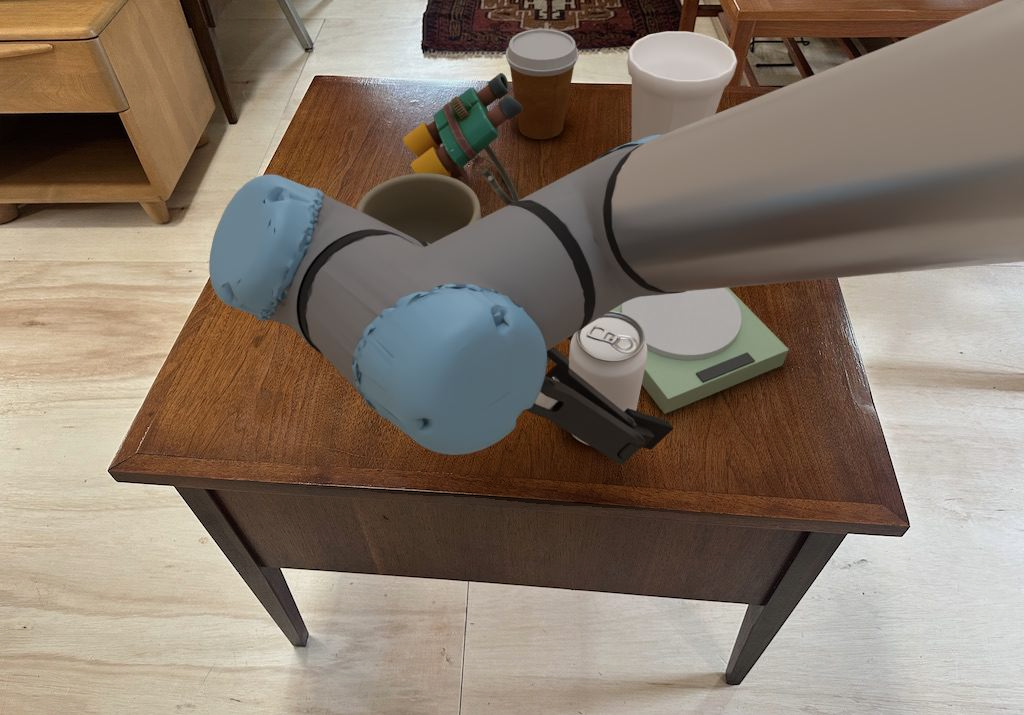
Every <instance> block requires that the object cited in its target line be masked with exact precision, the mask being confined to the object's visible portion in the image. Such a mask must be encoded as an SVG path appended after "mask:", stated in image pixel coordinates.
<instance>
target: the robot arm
mask: <svg viewBox="0 0 1024 715" xmlns="http://www.w3.org/2000/svg"><path fill="white" fill-rule="evenodd" d="M356 209H357V208H354V207H351V206H349V205H348V204H345V203H343V202H341V201H339V200H336V199H334V198H333V197H330V196H328V195H326V194H324V192H323V191H322V190H321V189H318V188H317V187H309V186H306V185H304V184H301V183H299V182H297V181H295V180H291V179H290V178H289V179H288V178H286V177H284V176H281V175H278V174H262V175H260V176H259V175H258V176H256V177H254V178H252V179H250V180H249V181H247V182H246V183H245V184H243V185H242V187H240V188H239V189H238V190H237V192H235V193H234V195H233V196H232V198H231V199H230V201H229V202H228V204H227V205H226V207H225V209H224V211H223V212H222V214H221V217H220V220H219V222H218V224H217V225H216V226H217V227H216V228H215V231H214V235H213V239H212V242H211V247H210V252H209V260H208V261H209V262H208V271H209V272H208V273H209V279H210V283H211V287H212V289H213V291H214V293H215V295H216V296H217V298H218V300H220V301H221V302H222V303H224V304H225V305H226V306H228V307H231V308H234V309H236V310H240V311H242V312H244V313H247V314H249V315H252V316H255V317H256V320H258V321H261V322H266V321H269V322H270V321H271V322H274V323H279V324H282V325H284V326H287V327H289V328H291V329H292V330H294V332H296V333H297V334H298V335H299V336H300V337H301V339H303V340H304V341H305V342H306V343H307V344H308V345H309V347H311V348H312V349H314V350H315V351H316V352H318V353H319V354H320V355H321V356H323V357H324V358H325V359H326V360H327V362H328V363H330V364H331V365H332V366H333V367H334V369H336V371H337V372H338V373H339V374H340V375H341V376H342V377H343V378H344V379H345V380H346V381H347V382H348V384H350V385H351V386H352V387H353V388H354V389H355V390H356V391H357V393H359V395H360V397H361V398H362V399H363V401H364V402H365V404H366V405H367V406H368V407H369V409H370V408H371V409H373V410H374V411H375V412H376V413H377V414H378V416H380V417H382V418H383V419H385V420H387V421H389V422H390V423H392V424H393V425H394V426H396V427H397V428H398V429H399V430H400V431H402V432H403V433H404V434H405V435H407V436H408V437H409V438H411V439H412V440H413V441H414V442H415V443H417V444H418V445H419V446H422V448H425V449H427V450H429V451H431V452H434V453H437V454H441V455H449V456H459V455H461V456H462V455H467V454H472V453H476V452H479V451H482V450H485V449H487V448H489V447H492V446H493V445H495V444H497V443H498V442H500V441H501V440H503V439H504V438H505V437H506V436H508V435H509V434H510V433H511V432H513V431H514V430H515V429H516V427H517V419H518V418H519V417H520V416H521V414H522V412H523V411H524V410H526V411H527V412H529V413H531V414H533V415H535V416H538V417H541V418H544V419H546V420H549V421H550V422H552V423H554V424H555V425H557V427H559V428H561V429H563V430H564V431H566V432H568V433H569V434H571V435H572V436H573V435H574V436H575V437H577V438H579V439H580V440H582V441H583V442H585V443H587V444H588V445H587V444H586V445H587V446H590V447H591V448H593V449H594V450H596V451H597V452H598V453H599V452H600V453H601V454H602V455H604V456H605V457H607V458H608V459H610V460H612V461H614V462H615V463H617V464H619V465H624V464H625V462H627V461H628V460H629V459H630V458H631V457H632V456H633V455H634V454H636V452H638V450H641V449H647V450H653V449H654V448H655V447H656V446H657V445H658V444H659V443H660V442H661V441H662V440H663V439H664V438H666V437H667V436H668V435H669V434H670V433H671V432H672V431H673V430H674V429H675V428H674V426H673V425H672V424H671V422H670V421H669V420H665V419H662V418H659V417H656V416H653V415H650V414H648V413H644V412H641V411H638V410H636V411H635V410H632V409H629V408H627V409H626V410H625V411H622V410H621V409H620V408H619V407H617V406H616V405H615V404H614V403H612V402H611V401H610V400H609V399H607V398H606V397H605V396H604V395H602V394H601V393H600V392H599V391H598V390H596V389H595V388H594V387H593V386H591V385H590V384H589V383H588V382H586V381H585V380H584V379H583V378H581V377H580V376H579V375H578V374H576V373H575V372H574V371H573V370H571V369H570V368H569V357H567V356H566V355H565V354H563V352H561V351H559V350H558V349H557V348H556V347H555V346H558V345H559V344H561V343H562V342H564V341H566V340H569V341H571V340H572V337H573V335H574V334H575V333H576V332H577V331H579V330H580V329H583V328H584V327H585V326H587V325H588V324H590V323H592V322H593V321H595V320H597V319H598V318H600V317H601V316H603V315H605V314H606V313H608V312H610V311H611V310H613V309H614V308H616V307H618V306H619V305H621V304H623V303H624V302H626V301H629V300H631V299H634V298H637V297H642V296H654V295H665V294H675V293H683V292H686V291H695V290H706V289H718V288H729V289H730V288H740V287H750V286H752V287H753V286H762V285H772V284H785V283H795V282H805V281H806V282H807V281H808V282H809V281H818V280H819V281H820V280H831V279H842V278H852V277H853V278H855V277H864V276H875V275H876V276H877V275H886V274H887V275H889V274H897V273H899V274H900V273H909V272H921V271H922V272H923V271H932V270H943V269H954V268H955V269H956V268H966V267H977V266H987V265H988V266H989V265H1001V264H1012V263H1023V262H1024V0H1000V1H998V2H996V3H993V4H990V5H988V6H985V7H983V8H980V9H978V10H975V11H973V12H970V13H968V14H965V15H962V16H960V17H957V18H955V19H952V20H949V21H946V22H944V23H942V24H939V25H937V26H935V27H932V28H929V29H927V30H924V31H922V32H919V33H917V34H914V35H912V36H909V37H907V38H904V39H901V40H898V41H897V42H894V43H892V44H888V45H886V46H883V47H881V48H879V49H877V50H874V51H871V52H869V53H866V54H864V55H861V56H859V57H855V58H854V59H851V60H849V61H846V62H843V63H841V64H838V65H836V66H834V67H831V68H829V69H826V70H823V71H820V72H817V73H815V74H813V75H811V76H807V77H806V78H803V79H801V80H798V81H795V82H793V83H791V84H787V85H785V86H782V87H781V88H778V89H774V90H773V91H769V92H767V93H764V94H762V95H760V96H757V97H755V98H753V99H750V100H747V101H744V102H742V103H740V104H737V105H734V106H731V107H729V108H728V109H725V110H722V111H720V112H716V114H714V115H712V116H709V117H707V118H704V119H702V120H699V121H697V122H694V123H692V124H689V125H687V126H684V127H681V128H679V129H676V130H674V131H671V132H669V133H666V134H664V135H653V136H648V137H645V138H643V139H640V140H638V141H634V142H631V141H630V142H627V143H625V144H622V145H620V146H617V147H615V148H613V149H611V150H609V151H607V152H605V153H603V154H601V155H600V156H597V158H596V159H595V160H594V161H592V162H590V163H588V164H586V165H584V166H581V167H580V168H578V169H576V170H574V171H572V172H570V173H568V174H566V175H564V176H562V177H560V178H558V179H557V180H555V181H553V182H551V183H549V184H547V185H545V186H544V187H542V188H539V189H538V190H536V191H534V192H532V193H530V194H528V195H526V196H525V197H522V198H521V199H520V200H519V201H515V202H514V201H513V202H512V203H511V204H509V205H506V206H503V207H502V208H500V209H497V210H495V211H494V212H492V213H489V214H488V215H486V216H483V217H481V219H480V220H478V221H476V222H474V223H472V224H470V225H468V226H466V227H464V228H462V229H460V230H458V231H456V232H454V233H452V234H450V235H448V236H446V237H444V238H442V239H440V240H438V241H436V242H434V243H432V244H429V243H427V242H425V241H421V240H419V239H416V238H414V237H410V236H408V235H406V234H404V233H402V232H400V231H398V230H396V229H394V228H392V227H390V226H388V225H386V224H384V223H382V222H380V221H379V220H377V219H375V218H373V217H371V216H369V215H366V214H364V213H362V212H360V211H358V210H356ZM550 361H552V362H553V363H554V364H555V365H554V366H553V367H552V368H550V370H549V371H548V372H547V366H548V363H549V362H550ZM574 436H573V437H574ZM575 437H574V438H575Z"/></svg>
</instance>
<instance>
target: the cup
mask: <svg viewBox="0 0 1024 715" xmlns="http://www.w3.org/2000/svg"><path fill="white" fill-rule="evenodd" d="M626 62H627V63H626V65H627V72H628V75H629V76H630V78H631V130H630V131H631V141H630V142H634V141H638V140H640V139H643V138H645V137H648V136H653V135H664V134H666V133H669V132H671V131H674V130H676V129H679V128H681V127H684V126H687V125H689V124H692V123H694V122H697V121H699V120H702V119H704V118H707V117H709V116H712V115H714V114H717V111H718V108H719V106H720V102H721V99H722V96H723V93H724V90H725V88H726V87H727V86H728V85H729V84H730V82H731V80H732V79H733V77H734V76H735V72H736V68H737V65H738V59H737V56H736V53H735V51H734V50H733V49H732V48H731V47H730V46H729V45H727V44H726V42H724V41H722V40H719V39H717V38H714V37H712V36H710V35H708V34H702V33H698V32H692V31H683V30H682V31H680V30H679V31H675V30H674V31H671V30H670V31H668V30H667V31H661V32H656V33H651V34H647V35H646V36H643V37H641V38H639V39H638V40H635V41H634V43H633V44H632V45H631V46H630V48H629V49H627V60H626Z"/></svg>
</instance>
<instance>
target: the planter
mask: <svg viewBox="0 0 1024 715" xmlns="http://www.w3.org/2000/svg"><path fill="white" fill-rule="evenodd" d="M470 187H471V186H470ZM470 187H468V186H467V185H466V184H464V183H463V182H461V181H459V180H457V179H454V178H451V177H448V176H444V175H439V174H430V173H418V174H416V173H410V174H409V173H408V174H403V175H400V176H395V177H392V178H390V179H387V180H385V181H383V182H381V183H378V184H377V185H375V186H374V187H372V188H371V189H370V190H368V191H367V192H366V193H365V194H364V195H363V197H362V198H361V199H360V201H359V202H358V204H357V205H356V206H357V207H356V208H355V209H356V210H358V211H360V212H362V213H364V214H366V215H369V216H371V217H373V218H375V219H377V220H379V221H380V222H382V223H384V224H386V225H388V226H390V227H392V228H394V229H396V230H398V231H400V232H402V233H404V234H406V235H408V236H410V237H414V238H416V239H419V240H421V241H425V242H427V243H429V244H432V243H434V242H436V241H438V240H440V239H442V238H444V237H446V236H448V235H450V234H452V233H454V232H456V231H458V230H460V229H462V228H464V227H466V226H468V225H470V224H472V223H474V222H476V221H478V220H480V219H482V217H481V204H480V201H479V197H478V196H477V194H476V192H475V191H474V190H473V189H472V187H471V188H470Z"/></svg>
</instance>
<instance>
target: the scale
mask: <svg viewBox="0 0 1024 715" xmlns="http://www.w3.org/2000/svg"><path fill="white" fill-rule="evenodd" d="M611 311H616V312H620V313H623V314H626V315H628V316H630V317H632V318H633V319H635V320H636V321H637V322H638V323H639V324H640V326H641V327H642V329H643V331H644V334H645V342H646V345H647V359H646V364H645V370H644V375H643V380H642V385H641V386H642V387H643V388H644V389H645V391H646V393H648V395H649V396H650V397H651V399H652V400H653V401H654V403H655V404H656V405H657V406H658V408H659V410H661V412H662V413H663V414H664V415H667V414H668V413H671V412H674V411H675V410H678V409H680V408H683V407H685V406H688V405H690V404H692V403H694V402H697V401H700V400H702V399H706V398H707V397H709V396H712V395H715V394H717V393H719V392H721V391H724V390H726V389H729V388H731V387H734V386H735V385H739V384H741V383H743V382H746V381H748V380H750V379H753V378H755V377H758V376H760V375H763V374H765V373H768V372H771V370H775V369H777V368H779V367H782V366H783V365H784V362H785V361H786V358H787V356H788V353H789V352H790V350H789V348H788V347H787V346H786V345H785V344H784V343H783V342H782V340H780V339H779V338H778V337H777V336H776V335H775V333H774V332H772V331H771V329H769V327H767V325H766V324H764V322H763V321H761V319H760V318H759V317H758V316H757V315H756V314H755V313H754V312H753V311H752V310H751V308H749V307H748V306H747V305H746V304H745V303H744V302H743V301H742V300H741V299H740V298H739V297H738V296H737V295H736V294H735V293H734V292H733V291H732V289H730V287H729V288H718V289H706V290H695V291H686V292H683V293H675V294H665V295H654V296H642V297H637V298H634V299H631V300H629V301H626V302H624V303H623V304H621V305H619V306H618V307H616V308H614V309H613V310H611Z"/></svg>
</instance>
